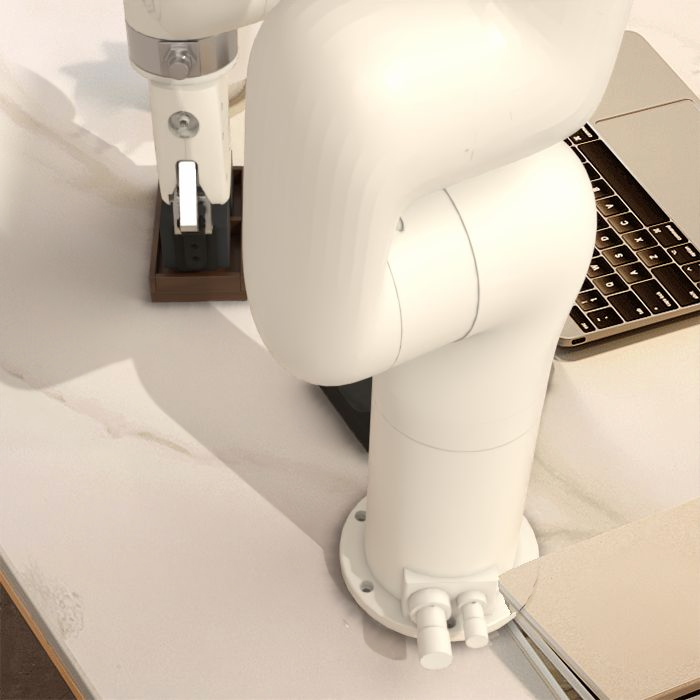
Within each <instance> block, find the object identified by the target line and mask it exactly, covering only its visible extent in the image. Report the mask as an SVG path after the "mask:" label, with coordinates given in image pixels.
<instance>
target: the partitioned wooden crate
mask: <svg viewBox="0 0 700 700" xmlns="http://www.w3.org/2000/svg"><path fill="white" fill-rule="evenodd" d="M233 158H234V157H233V150H232V149H231V181H230V197H229V209H230V262H229V267H218V269H217V270H214V271H179V270H177V269H176V268H164V264H163V254H162V245H161V235H160V219H161V208H162V196H161V191H160V184H159V177H158V179H157V189H156V198H155V209H154V220H153V227H152V228H153V230H152V239H151V248H150V249H151V251H150V259H149V269H148V270H149V272H148V284H149V292H150V302H152V303H170V302H173V303H174V302H177V303H178V302H229V301H231V302H233V301H236V302H237V301H248V298H247V292H246V287H245V280H244V270H243V253H242V223H243V180H244V165H234V161H233V160H234V159H233Z"/></svg>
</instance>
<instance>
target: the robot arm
mask: <svg viewBox="0 0 700 700" xmlns="http://www.w3.org/2000/svg"><path fill="white" fill-rule="evenodd" d="M122 3H123V12H124V22H125V31H126V40H127V41H126V42H127V49H128V60H129V64H130V66H131V67H132V69H133V70H134V71H135V72H136V73H137V74H139V76H141V77H143V78H145V79H147V82H148V93H149V95H148V96H149V107H150V115H151V126H152V136H153V144H154V153H155V154H154V155H155V160H156V170H157V176H158V177H159V184H160V191H161V196H162V199H163V201H164V202H166V203H167V204H168V205H170V204H171V202H173V214H174V226H173V241H174V251H175V262H176V269H177V270H179V271H214V270H217V269H218V247H217V232H216V225H212V207H211V203H212V204H224V203H226V202H227V200H228V199H229V197H230V181H231V150H232V130H231V129H232V128H231V118H230V117H231V115H230V97H229V84H228V73H229V72H230V71H231V70H232V69H233V68H234V67H235V66H236V65H237V63H238V60H239V58H240V50H239V49H240V47H239V30H238V29H240V28H244V27H247V26H251V25H254V24H257V23H259V22H262V23H261V25H260V27H259V28H258V31H257V33H256V35H255V37H254V40H253V42H252V46H251V50H250V52H249V57H248V64H247V69H246V82H245V94H244V95H245V96H244V97H245V98H244V132H243V133H244V138H243V139H244V140H243V166H244V180H243V223H242V253H243V270H244V280H245V287H246V292H247V298H248V300H247V301H248V307H249V310H250V314H251V318H252V320H253V322H254V326H255V328H256V330H257V333H258V336H259V338H260V339H261V341H262V343H263V345H264V346H265V348H266V349H267V351H268V352H269V354H270V356H271V357H272V358H273V359H274V360H275V361H276V363H277V364H278V365H279V366H280V367H282V368H283V370H285V371H286V372H288V373H289V374H290V375H292V376H294V377H295V378H297V379H299V380H301V381H303V382H305V383H308V384H311V385H314V386H315V385H316V386H319V385H322V386H340V385H345V384H351V383H354V382H357V381H360V380H363V379H366V378H369V377H372V376H373V378H372V398H371V420H370V441H369V453H368V464H367V465H368V466H367V485H366V495H365V496H364V497H362V499H360V500H359V501H358V502H357V503H356V504H355V506H354V507H353V508H352V510H351V511H350V512H349V514H348V516H347V518H346V520H345V522H344V525H343V527H342V529H341V534H340V539H339V540H340V541H339V554H338V555H339V556H338V557H339V566H340V572H341V577H342V579H343V581H344V583H345V585H346V588H347V590H348V592H349V593H350V595H351V596H352V598H354V600H355V602H356V603H357V605H358V606H359V607H360V608H361V609H362V610H364V612H366V614H367V615H369V617H371V618H372V619H374V620H375V621H377V622H378V623H379V624H381V625H383V626H384V627H386V628H388V629H389V630H392V631H394V632H397V633H398V634H401V635H403V636H406V637H410V638H413V639H416V642H417V652H418V662H419V665H420V666H421V668H422V669H425V670H428V671H440V670H443V669H446V668H448V667H449V666H451V665H452V663H453V662H454V659H453V650H452V643H451V642H465V645H466V646H467V647H468V648H469V649H475V650H476V649H482V648H484V647H486V646H487V645H488V644H489V643H490V638H489V634H490V633H492V632H495V631H497V630H499V629H501V628H502V627H504V626H505V625H506V624H508V623H509V622H511V620H513V619H515V617H517V615H516V612H513V613H512V614H511V613H510V610H509V609H508V607H507V605H506V604H505V600H504V597H503V595H502V594H501V593H500V592H499V587H498V580H499V577H498V576H499V575H501V574H503V573H505V572H506V571H508V570H510V569H512V568H515V567H517V566H520V565H522V564H524V563H527V562H529V561H532V560H534V559H537V558H539V559H540V550H539V549H540V548H539V543H538V540H537V538H536V534H535V532H534V530H533V527H532V526H531V524H530V522H529V521H528V519H527V517H526V516H525V514H524V513H525V507H526V506H525V505H526V501H527V495H528V490H529V485H530V478H531V473H532V468H533V464H534V463H533V462H534V456H535V452H536V446H537V440H538V435H539V430H540V426H541V425H540V424H541V420H542V414H543V409H544V405H545V400H546V395H547V390H548V385H549V379H550V374H551V369H552V365H553V361H554V357H555V354H556V350H557V346H558V342H559V340H560V337H561V334H562V332H563V329H564V326H565V324H566V322H567V320H568V317H569V315H570V314H571V311H572V308H573V307H574V304H575V303H576V300H577V298H578V296H579V293H580V291H581V290H582V287H583V284H584V282H585V280H586V278H587V275H588V271H589V268H590V266H591V263H592V259H593V254H594V251H595V247H596V239H597V229H598V212H597V211H598V210H597V203H596V196H595V192H594V189H593V185H592V181H591V179H590V177H589V174H588V172H587V169H586V168H585V165H584V164H583V163H582V160H581V159H580V158H579V156H578V155H577V154H576V152H575V151H574V150H573V148H571V146H569V144H567V142H565V141H564V140H567V139H568V138H569V137H571V136H572V135H574V134H575V133H577V132H578V131H579V130H580V129H582V128H583V127H584V126H585V125H586V124H587V123H588V122H589V121H590V119H591V118H592V117H593V116H594V115H595V112H596V111H597V109H598V108H599V106H600V104H601V102H602V101H603V98H604V96H605V93H606V91H607V88H608V86H609V84H610V80H611V77H612V74H613V71H614V69H615V66H616V62H617V58H618V55H619V53H620V48H621V45H622V43H623V38H624V35H625V31H626V28H627V25H628V21H629V17H630V14H631V10H632V7H633V4H634V0H122ZM178 187H179V191H178ZM197 187H201V188H202V189H203V191H197ZM198 204H203V205H204V217H203V215H198ZM510 614H511V615H510Z"/></svg>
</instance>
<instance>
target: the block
mask: <svg viewBox="0 0 700 700" xmlns="http://www.w3.org/2000/svg"><path fill="white" fill-rule="evenodd" d="M178 191H179V187H178ZM197 191H203V189H202V188H201V187H197ZM211 207H212V225H216V232H217V247H218V267H229V262H230V209H229V199H228V200H227V202H226V203H224V204H212V203H211ZM198 215H203V217H204V205H203V204H198ZM173 226H174V214H173V202H171V204H170V205H168V204H167V203H166V202H164V201H163V199H162V208H161V219H160V235H161V245H162V254H163V264H164V268H176V262H175V251H174V241H173Z"/></svg>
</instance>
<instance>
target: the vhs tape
mask: <svg viewBox="0 0 700 700" xmlns="http://www.w3.org/2000/svg"><path fill="white" fill-rule="evenodd" d="M372 378H373V376H372V377H369V378H366V379H363V380H360V381H357V382H354V383H351V384H345V385H340V386H322V385H318V386H319V388H320V390H321V391H322V392H323V394H324V395H325V396H326V398H327V399H328V400H329V402H330V404H331V405H332V406H333V408H334V409H335V410H336V412H337V413H338V414H339V416H340V417H341V419H342V420H343V421H344V422H345V424H346V425H347V426H348V428H349V429H350V431H351V432H352V434H353V435H354V436H355V438H356V439H357V440H358V442H359V443H360V445H362V447H363V448H364V450H365V451H366V452H367V453H368V454H369V441H370V420H371V398H372Z"/></svg>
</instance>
